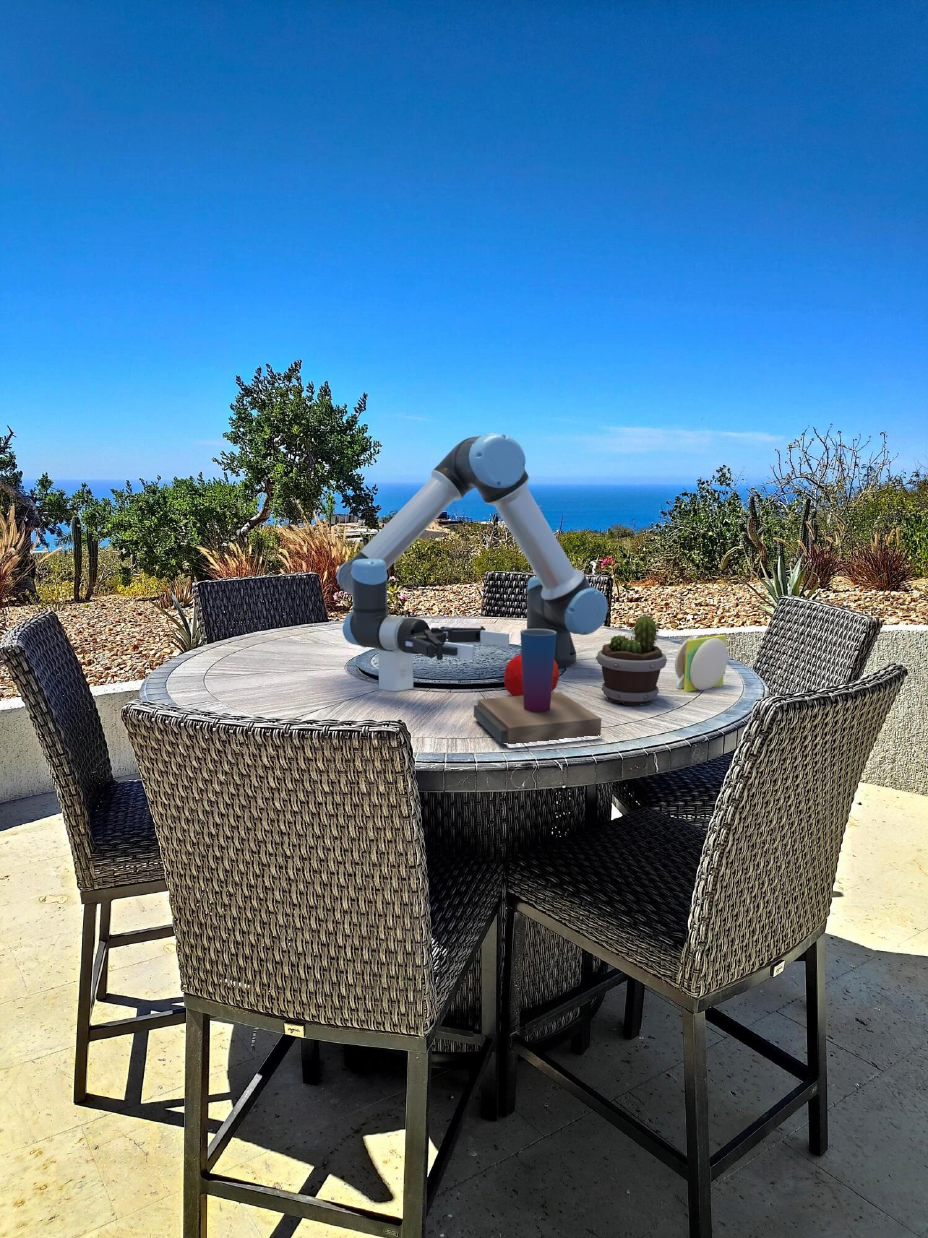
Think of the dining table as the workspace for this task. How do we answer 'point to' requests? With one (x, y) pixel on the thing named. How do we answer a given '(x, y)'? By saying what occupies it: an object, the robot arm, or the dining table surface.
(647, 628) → the flowerpot
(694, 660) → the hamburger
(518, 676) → the tomato
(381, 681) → the jar
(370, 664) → the dining table surface
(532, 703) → the cup
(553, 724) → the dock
